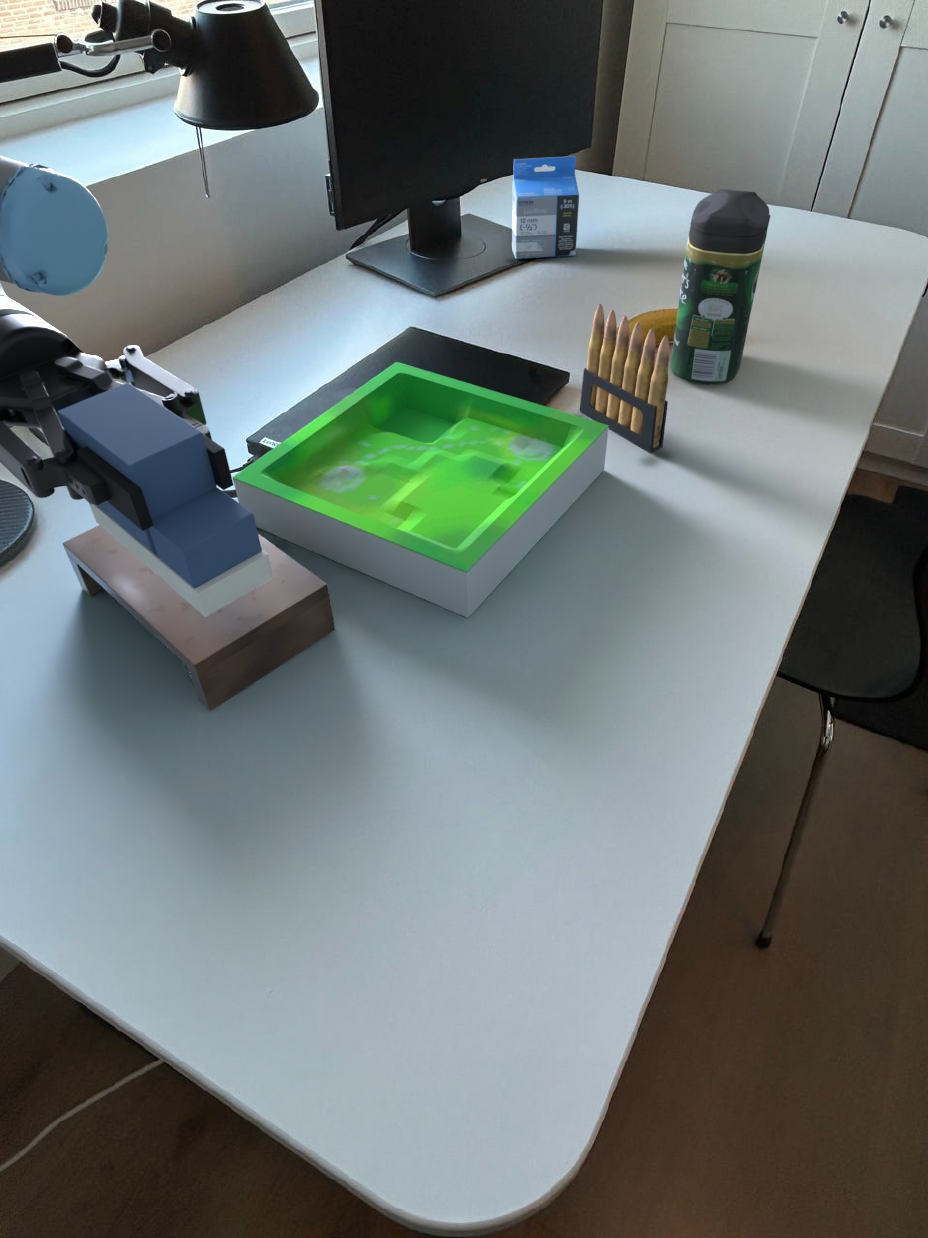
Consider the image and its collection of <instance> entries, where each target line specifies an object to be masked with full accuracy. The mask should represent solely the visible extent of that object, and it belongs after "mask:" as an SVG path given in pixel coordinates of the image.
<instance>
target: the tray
mask: <svg viewBox="0 0 928 1238" xmlns="http://www.w3.org/2000/svg"><path fill="white" fill-rule="evenodd" d="M608 437H609V425H606V424H602V423H599V422H597V421H595V420H593V419H589V418H585V417H582V416H579V415H576V414H572V413H569V412H567V411H562V410H559V409H556V408H552V407H549V406H545V405H542V404H539V403H537V402H536V403H535V402H532V401H529V400H526V399H522V398H519V397H516V396H512V395H509V394H505V393H502V392H499V391H495V390H492V389H488V388H486V387H482V386H480V385H475V384H472V383H468V382H466V381H462V380H459V379H456V378H452V377H449V376H446V375H443V374H439V373H436V372H433V371H429V370H426V369H422V368H419V367H415V366H411V365H408V364H406V363H403V362H398V361H395V362H394V363H392V364H391V365H390V366H389V367H386V368H385V369H384V370H383V371H381V372H380V373H378V374H377V375H376V376H374V377H373V378H371V379H370V380H368V381H367V382H365V383H364V384H363V385H361V386H360V387H359V388H357V389H355V390H353V392H351V393H350V394H348V395H347V396H345V398H343V399H341V400H340V401H339V402H337V403H336V404H334V405H333V406H331V407H330V408H329V409H327V410H325V411H324V412H322V413H321V414H320V415H318V416H317V417H316V418H315V419H313V420H311V421H310V422H308V424H306V425H305V426H303V427H301V428H300V429H299V430H297V431H296V432H295V433H293V434H291V435H290V436H288V437H287V438H285V440H282V442H280V443H279V444H277V445H276V446H275V447H273V448H272V449H270V450H269V451H267V452H265V454H263V455H262V456H261V457H259V458H257V459H256V460H255V461H253V462H252V463H251V464H249V465H247V466H246V467H245V468H243V469H242V470H240V471H239V472H238V473H236V474H235V475H234V476H232V481H233V487H234V489H235V493H236V498H237V502H238V503H239V504H241V505H242V506H243V507H245V508H246V509H248V510H249V511H250V512H252V513H253V514H254V519H255V523H256V527H257V529H259V530H262V531H264V532H267V533H268V534H270V535H274V536H275V537H277V538H280V539H282V540H285V541H288V542H289V543H292V544H294V545H297V546H299V547H301V548H303V549H306V550H309V551H311V552H312V553H315V554H318V555H320V556H322V557H325V558H327V559H329V560H331V561H334V562H336V563H338V564H341V565H343V566H345V567H347V568H350V569H353V570H355V571H357V572H359V573H362V574H364V575H366V576H369V577H371V578H374V579H376V580H378V581H380V582H382V583H385V584H387V585H390V586H392V587H395V588H396V589H399V590H400V591H401V590H402V591H404V592H406V593H408V594H410V595H413V596H414V597H415V596H416V597H418V598H420V599H423V600H424V601H427V602H429V603H431V604H434V605H436V606H439V607H441V608H443V609H445V610H448V611H451V612H453V613H455V614H458V615H460V616H462V617H465V618H466V619H468V618H470V616H471V615H473V614H474V612H475V611H476V610H477V609H478V608H479V607H480V606H481V605H482V603H483V602H484V601H485V600H486V599H487V598H488V597H489V596H490V595H491V594H492V592H494V590H495V589H496V588H497V587H498V586H499V585H500V584H501V583H502V582H503V580H504V579H505V578H506V577H507V576H508V575H509V574H510V573H511V572H512V571H513V570H514V569H515V567H516V566H518V564H519V563H520V562H521V561H522V560H523V559H524V557H526V556H527V555H528V554H529V553H530V551H532V549H533V548H534V547H535V545H536V544H537V543H539V541H540V540H541V539H542V538H543V537H544V536H545V535H546V534H547V533H548V532H549V530H550V529H551V528H552V527H553V526H554V525H555V524H556V523H557V522H558V521H559V520H560V519H561V517H562V516H563V515H564V514H565V513H566V512H567V511H568V509H569V508H571V506H572V505H573V504H574V503H576V501H577V500H578V499H579V498H580V497H581V495H582V494H583V493H584V492H585V491H586V490H587V489H588V488H589V487H590V486H591V484H593V482H594V481H596V479H598V477H599V476H600V475H601V474H602V473H603V472H604V470H605V464H606V456H607V445H608Z"/></svg>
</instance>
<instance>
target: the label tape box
mask: <svg viewBox="0 0 928 1238" xmlns="http://www.w3.org/2000/svg"><path fill="white" fill-rule="evenodd" d="M576 162H577V156H575V155H571V156H569V155H568V156H552V157H551V156H550V157H533V158H514V159H513V178H512V185H511V186H512V188H511V189H512V191H511V192H512V193H511V194H512V195H511V197H512V201H511V202H512V203H511V204H512V205H511V206H512V207H511V212H512V213H511V215H512V216H511V217H512V218H511V221H512V222H511V249H512V251H511V252H512V254H513V256H514V258H515V260H523V259H537V258H555V257H570V256H571V257H572V256H576V253H577V238H578V223H579V222H578V221H579V209H580V207H579V205H580V194H579V188H578V187H579V186H578V181H577V177H576V164H577V163H576ZM544 165H546V166H547V167H548V168H549V167H554V170H545V171H543V170H541V171H536V170H535V169H536V168H542V167H543V166H544Z"/></svg>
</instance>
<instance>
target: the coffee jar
mask: <svg viewBox="0 0 928 1238" xmlns="http://www.w3.org/2000/svg"><path fill="white" fill-rule="evenodd" d="M770 219H771V214H770V207H769V206H768V204H767V203H766V202H765V200H763V199H762V198H761V197H760V196H759V195H758V193H756V192H755V191H749V190H739V189H723V188H719V189H717V190H716V191H715V192H713V193H711V194H709V195H707V196H706V197H704V198H702V199H701V200H700V201H699V202H698V203H697V204H696V206H695V208H694V210H693V212H692V216H691V220H690V227H689V231H688V236H687V242H686V249H685V255H684V261H683V262H684V263H683V267H682V268H683V269H682V275H681V284H680V290H679V298H678V306H677V313H676V320H675V327H674V334H673V341H672V347H671V348H672V349H671V354H670V355H671V357H670V371H671V373H672V374H673V376H675V377H678V378H680V379H682V380H684V381H687V382H689V383H692V384H695V385H705V386H710V385H717V384H718V385H719V384H727V383H730V382H731V381H733V379H735V378H736V376H737V374H738V372H739V371H740V367H741V362H742V360H743V359H742V358H743V353H744V349H745V344H746V339H747V334H748V328H749V323H750V318H751V313H752V308H753V303H754V298H755V295H756V290H757V284H758V279H759V275H760V269H761V264H762V259H763V255H764V250H765V244H766V240H767V234H768V229H769V225H770Z"/></svg>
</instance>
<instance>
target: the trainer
mask: <svg viewBox="0 0 928 1238" xmlns="http://www.w3.org/2000/svg"><path fill="white" fill-rule="evenodd" d="M58 415H59V417H60V420H61V422H62V425H63V428H64V430H65V432H66V434H67V437H68V439H69V441H70V443H71V445H72V447H73V449H74V452H75V454H76V456H77V457H78V458H79V456H78V454H77V450H80V449H82V448H84V447H87V446H88V447H89V448H90V449H91V450H93V451H94V452H95V453H97V454H98V455H99V456H100V457H102V458H103V459H104V460H105V461H107V462H108V463H109V464H110V465H112V466H113V467H114V468H116V469H117V470H118V471H119V472H121V473H122V474H123V475H124V476H126V477H127V478H128V479H129V480H131V481H132V482H133V483H135V484H136V485H138V486H139V487H140V488H141V489H142V492H143V495H144V498H145V501H146V504H147V507H148V510H149V513H150V516H151V519H152V522H153V525H154V526H152V527H150V528H148V529H146V530H144V531H142V530H141V529H140V528H138V527H137V526H136V525H135V524H134V523H132V522H131V521H130V520H129V519H128V518H126V517H125V516H124V515H123V514H122V513H121V512H119V511H118V510H117V509H116V508H115V507H113V506H112V505H111V504H110V503H109V502H107V501H106V502H103V503H101V504H99V505H93V504H90V503H89V502H88V504H89V508H90V510H91V512H92V515H93V517H94V520H95V522H96V524H98V526H99V525H100V526H102V527H103V528H104V529H105V530H106V531H107V532H108V533H110V534H111V535H112V536H113V537H114V538H115V539H116V540H118V541H119V542H120V543H121V544H122V545H123V546H124V547H126V548H127V549H128V550H129V551H130V552H131V553H132V554H134V555H135V556H136V557H137V558H138V559H139V560H140V561H142V562H143V563H144V564H145V565H146V566H147V567H148V568H150V569H151V570H152V571H153V572H154V573H155V574H156V575H158V576H159V577H160V578H161V579H162V580H163V581H164V582H166V583H167V584H168V585H169V586H170V587H171V588H173V589H174V590H175V591H176V592H177V593H178V594H179V595H181V596H182V597H183V598H184V599H185V600H186V601H187V602H189V603H190V604H191V605H192V606H193V607H194V608H195V609H197V610H198V611H199V612H200V613H201V614H202V615H203V616H205V617H207V616H209V615H210V614H212V613H214V612H216V611H217V610H219V609H221V608H222V607H224V606H226V605H228V604H229V603H231V602H233V601H234V600H236V599H238V598H240V597H241V596H243V595H245V594H246V593H248V592H250V591H252V590H253V589H255V588H257V587H258V586H260V585H262V584H264V583H265V582H267V581H269V580H270V579H272V578H274V577H273V572H272V568H271V564H270V559H269V555H268V554H267V553H266V552H265V551H263V550H262V548H261V544H260V540H259V536H258V534H259V533H258V532H259V531H258V528H257V527H256V523H255V519H254V514H253V513H252V512H250V511H249V510H248V509H246V508H245V507H243V506H242V505H241V504H239V502H238V500H235V499H234V498H232V497H231V496H230V495H228V493H225V491H224V490H222V489H221V488H220V487H218V486H217V485H216V482H215V478H214V475H213V471H212V467H211V463H210V459H209V456H208V452H207V448H206V444H205V441H204V437H203V433H202V432H201V431H199V430H198V429H196V428H195V427H193V426H192V425H190V424H189V423H187V422H186V421H184V420H183V419H181V418H180V417H178V416H177V415H175V414H174V413H172V412H171V411H169V410H168V409H167V408H165V407H164V406H162V405H161V404H159V403H158V402H156V401H155V400H153V399H152V398H150V397H149V396H147V395H146V394H144V393H143V392H141V391H140V390H138V389H137V388H135V387H134V386H132V385H131V384H129V383H126V382H125V383H123V385H121V386H118V387H116V388H113V389H111V390H108V391H106V392H103V393H101V394H98V395H96V396H94V397H91V398H89V399H86V400H84V401H81V402H79V403H76V404H74V405H71V406H69V407H66V408H64V409H62V410H59V411H58Z"/></svg>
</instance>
